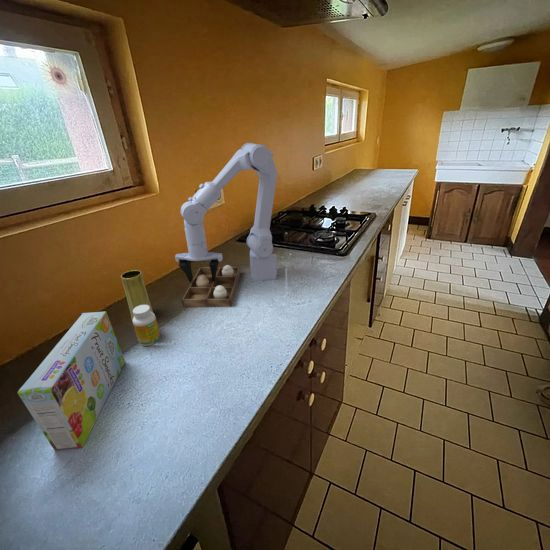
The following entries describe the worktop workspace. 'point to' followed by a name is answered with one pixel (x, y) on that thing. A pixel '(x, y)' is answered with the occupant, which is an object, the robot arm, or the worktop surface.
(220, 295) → the cream egg near
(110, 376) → the snack box
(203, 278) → the beige egg
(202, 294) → the egg tray
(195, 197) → the robot arm
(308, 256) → the worktop surface
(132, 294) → the vase
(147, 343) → the supplement bottle
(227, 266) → the cream egg far
